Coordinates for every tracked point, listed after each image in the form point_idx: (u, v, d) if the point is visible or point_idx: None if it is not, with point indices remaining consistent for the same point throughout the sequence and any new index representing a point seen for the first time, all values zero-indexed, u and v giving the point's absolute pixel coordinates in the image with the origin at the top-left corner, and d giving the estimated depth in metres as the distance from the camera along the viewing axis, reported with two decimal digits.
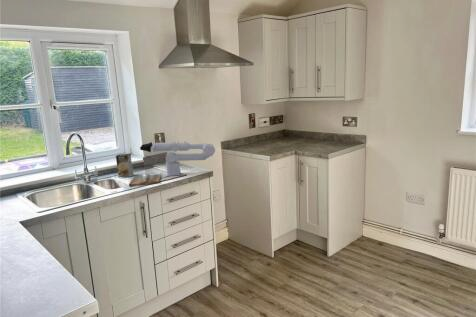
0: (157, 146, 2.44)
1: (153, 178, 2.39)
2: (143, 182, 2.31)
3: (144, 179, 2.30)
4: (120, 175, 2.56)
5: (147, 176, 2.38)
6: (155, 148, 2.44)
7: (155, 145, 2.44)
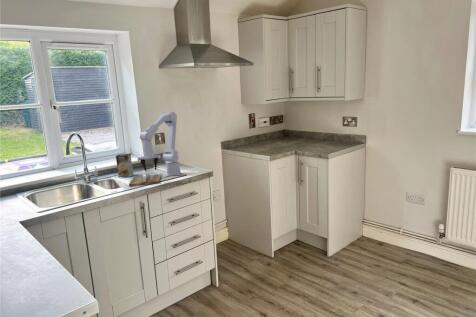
0: (152, 152, 2.30)
1: (153, 178, 2.39)
2: (143, 182, 2.31)
3: (144, 179, 2.30)
4: (120, 175, 2.56)
5: (147, 176, 2.38)
6: None
7: (152, 155, 2.29)
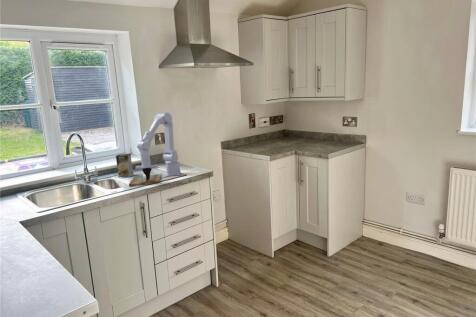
0: (149, 162, 2.30)
1: (153, 178, 2.39)
2: (143, 182, 2.31)
3: (144, 179, 2.30)
4: (120, 175, 2.56)
5: None
6: (150, 164, 2.32)
7: (148, 164, 2.30)
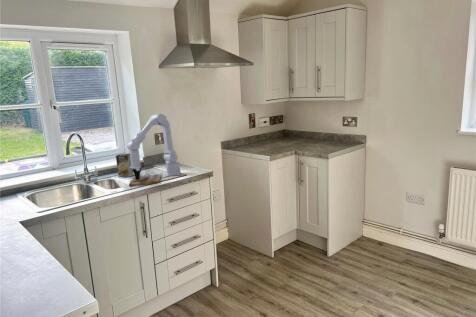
0: (135, 163, 2.30)
1: (153, 178, 2.39)
2: (143, 182, 2.31)
3: (132, 178, 2.34)
4: (120, 175, 2.56)
5: (145, 176, 2.38)
6: (137, 165, 2.31)
7: (134, 165, 2.30)
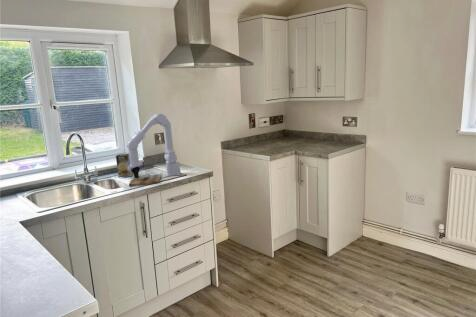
0: (131, 162, 2.34)
1: (153, 178, 2.39)
2: (143, 182, 2.31)
3: None
4: (120, 175, 2.56)
5: (144, 176, 2.38)
6: (132, 164, 2.34)
7: (130, 164, 2.35)
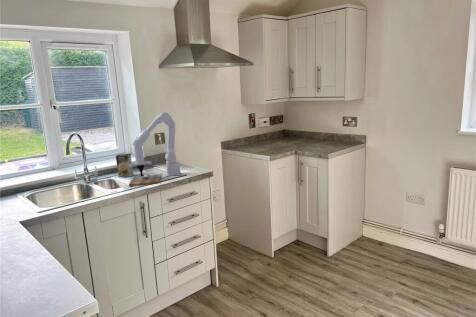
0: None
1: (153, 178, 2.39)
2: (143, 182, 2.31)
3: None
4: (120, 175, 2.56)
5: (144, 176, 2.39)
6: (136, 162, 2.40)
7: None
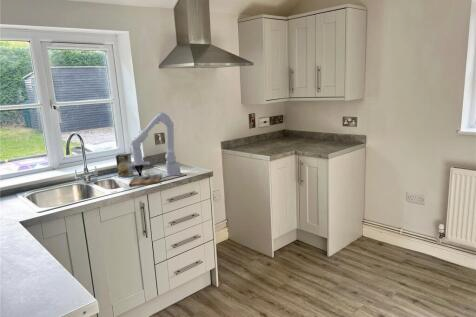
0: None
1: (153, 178, 2.39)
2: (143, 182, 2.31)
3: None
4: (120, 175, 2.56)
5: (144, 176, 2.39)
6: (134, 162, 2.41)
7: None
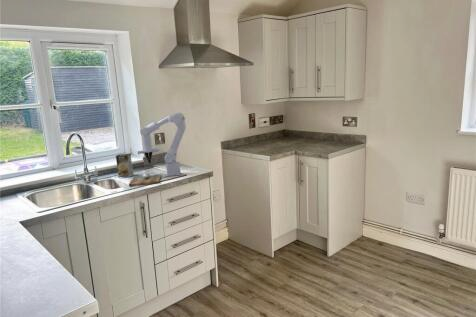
0: None
1: (153, 178, 2.39)
2: (143, 182, 2.31)
3: None
4: (120, 175, 2.56)
5: (144, 176, 2.39)
6: None
7: None
